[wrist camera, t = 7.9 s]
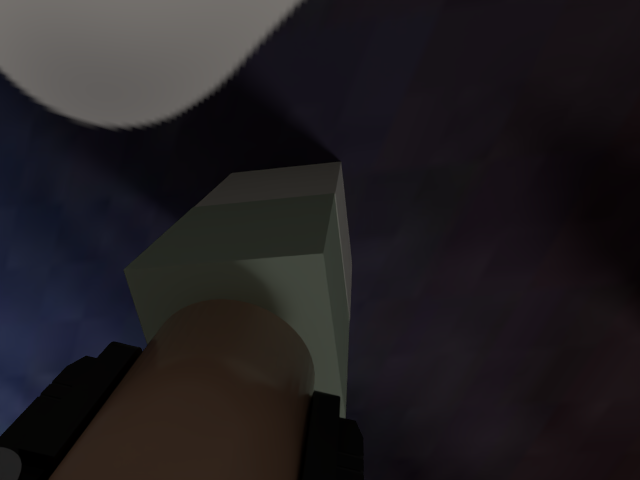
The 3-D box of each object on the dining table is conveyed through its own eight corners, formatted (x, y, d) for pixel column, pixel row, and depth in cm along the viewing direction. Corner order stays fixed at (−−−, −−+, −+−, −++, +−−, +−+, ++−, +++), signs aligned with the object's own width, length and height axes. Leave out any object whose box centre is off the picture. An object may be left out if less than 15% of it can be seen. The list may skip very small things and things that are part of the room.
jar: (332, 322, 12) (299, 635, 6) (296, 449, 14) (240, 794, 7) (157, 280, 12) (-81, 545, 5) (145, 413, 14) (-44, 728, 7)
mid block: (334, 193, 18) (323, 253, 12) (349, 319, 20) (345, 419, 15) (193, 207, 19) (123, 269, 13) (222, 327, 21) (173, 424, 15)
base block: (340, 161, 24) (335, 193, 18) (352, 263, 26) (349, 320, 20) (231, 172, 24) (193, 207, 19) (251, 271, 26) (222, 328, 21)
